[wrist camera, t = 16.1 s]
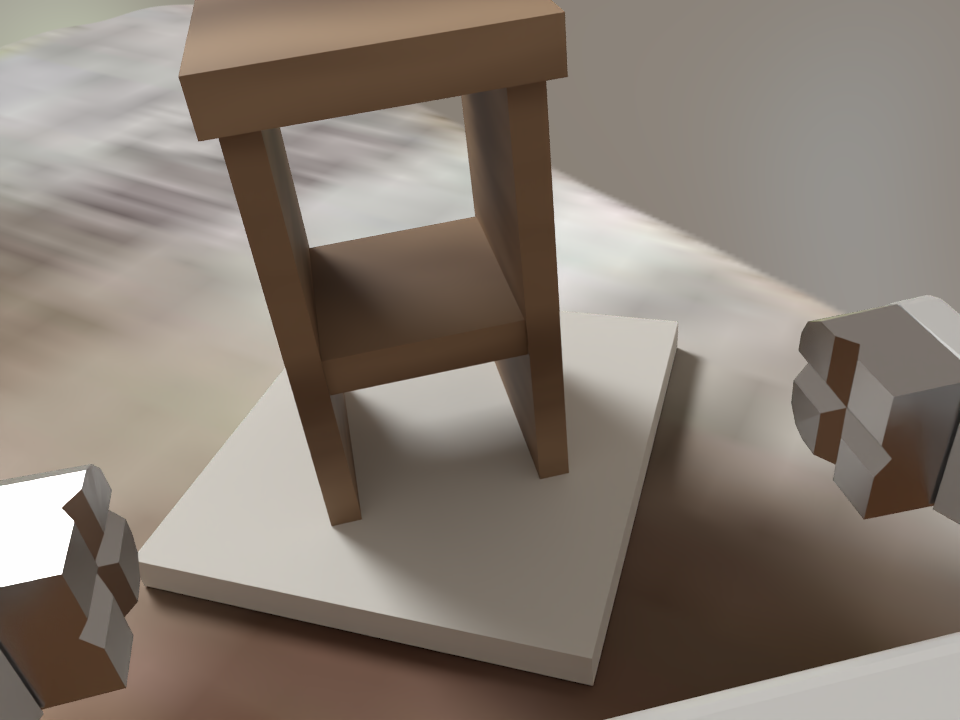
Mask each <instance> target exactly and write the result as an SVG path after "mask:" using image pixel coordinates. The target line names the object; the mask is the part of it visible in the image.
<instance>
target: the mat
mask: <svg viewBox="0 0 960 720" xmlns="http://www.w3.org/2000/svg"><path fill="white" fill-rule="evenodd" d="M560 328H561V345H562V362H563V379H564V396H565V413H566V430H567V447H568V464H569V473H566V474H562V475H558V476H553V477H549V478H544V479H540V478H539V475H538V473H537V470H536V468H535V465H534V462H533V460H532V457H531V455H530V452H529V450H528V447H527V444H526V442H525V439H524V437H523V434H522V431H521V429H520V426H519V424H518V421H517V418H516V416H515V413H514V411H513V408H512V406H511V403H510V400H509V398H508V395H507V393H506V390H505V387H504V385H503V382H502V380H501V377H500V375H499V372H498V369H497V367H496V364H495V362H489V363H484V364H479V365H474V366H470V367H465V368H460V369H455V370H451V371H446V372H441V373H436V374H431V375H427V376H422V377H417V378H412V379H407V380H403V381H398V382H393V383H388V384H384V385H379V386H374V387H369V388H364V389H360V390H355V391H350V392H345V393H344V395H345V402H346V409H347V416H348V423H349V430H350V437H351V445H352V452H353V459H354V466H355V473H356V480H357V487H358V495H359V502H360V509H361V516H362V520H358V521H353V522H349V523H344V524H340V525H335V526H331V523H330V519H329V516H328V513H327V509H326V506H325V502H324V499H323V495H322V492H321V488H320V485H319V482H318V478H317V475H316V471H315V468H314V464H313V461H312V458H311V454H310V451H309V447H308V444H307V440H306V437H305V434H304V430H303V427H302V423H301V420H300V416H299V413H298V409H297V406H296V403H295V399H294V396H293V392H292V389H291V385H290V382H289V379H288V375H287V372H286V368H284V369H283V371H282V372H281V373H280V374H279V376H278V377H277V378H276V379H275V381H274V382H273V383H272V384H271V386H270V387H269V388H268V389H267V391H266V392H265V393H264V394H263V396H262V397H261V398H260V400H259V401H258V402H257V403H256V405H255V406H254V407H253V408H252V410H251V411H250V412H249V413H248V415H247V416H246V417H245V418H244V420H243V421H242V422H241V423H240V425H239V426H238V427H237V428H236V430H235V431H234V432H233V433H232V435H231V436H230V437H229V438H228V440H227V441H226V442H225V444H224V445H223V446H222V447H221V449H220V450H219V451H218V452H217V454H216V455H215V456H214V457H213V459H212V460H211V461H210V462H209V464H208V465H207V466H206V467H205V469H204V470H203V471H202V472H201V474H200V475H199V476H198V477H197V479H196V480H195V481H194V483H193V484H192V485H191V486H190V488H189V489H188V490H187V491H186V493H185V494H184V495H183V496H182V498H181V499H180V500H179V501H178V503H177V504H176V505H175V506H174V508H173V509H172V510H171V511H170V513H169V514H168V515H167V516H166V518H165V519H164V520H163V521H162V523H161V524H160V525H159V527H158V528H157V529H156V530H155V532H154V533H153V534H152V535H151V537H150V538H149V539H148V540H147V542H146V543H145V544H144V545H143V547H142V548H141V549H140V550H139V552H138V560H139V572H140V578H141V580H142V582H143V584H144V586H149V587H153V588H158V589H162V590H166V591H171V592H175V593H180V594H184V595H189V596H193V597H198V598H202V599H207V600H211V601H216V602H220V603H225V604H229V605H234V606H238V607H242V608H247V609H251V610H256V611H260V612H265V613H269V614H274V615H278V616H283V617H287V618H292V619H296V620H301V621H305V622H310V623H314V624H319V625H323V626H327V627H332V628H336V629H341V630H345V631H350V632H354V633H359V634H363V635H368V636H372V637H377V638H381V639H386V640H390V641H395V642H399V643H403V644H408V645H412V646H417V647H421V648H426V649H430V650H435V651H439V652H444V653H448V654H453V655H457V656H462V657H466V658H471V659H475V660H479V661H484V662H488V663H493V664H497V665H502V666H506V667H511V668H515V669H520V670H524V671H529V672H533V673H538V674H542V675H547V676H551V677H555V678H560V679H564V680H569V681H573V682H578V683H582V684H587V685H591V686H593V684H594V680H595V676H596V672H597V668H598V664H599V660H600V656H601V652H602V648H603V644H604V640H605V636H606V632H607V628H608V624H609V620H610V616H611V612H612V608H613V604H614V600H615V596H616V591H617V587H618V583H619V579H620V575H621V571H622V567H623V563H624V559H625V555H626V551H627V547H628V543H629V539H630V535H631V531H632V527H633V523H634V519H635V515H636V511H637V507H638V503H639V499H640V495H641V491H642V487H643V483H644V479H645V475H646V471H647V467H648V463H649V458H650V454H651V450H652V446H653V442H654V438H655V434H656V430H657V426H658V422H659V418H660V414H661V410H662V406H663V402H664V398H665V394H666V390H667V386H668V382H669V378H670V374H671V370H672V366H673V362H674V358H675V354H676V350H677V340H678V322H676V321H665V320H654V319H643V318H633V317H622V316H611V315H600V314H589V313H578V312H568V311H560Z"/></svg>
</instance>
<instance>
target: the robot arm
mask: <svg viewBox="0 0 960 720" xmlns="http://www.w3.org/2000/svg"><path fill="white" fill-rule="evenodd" d="M799 352H800V353H801V354H802V356H803V357H804V358H805V359H806V361H807V362H808V364H807V365H806V366H805V367H804V369H803V370H802V371H801V372H800V373H799V375H798V376H797V377H796V378H795V380H794V383H793V392H792V401H791V403H792V409H793V414H794V419H795V424H796V426H797V429H798V431H799V433H800V435H801V437H802V439H803V441H804V442H805V444H806V445H807V446H808V448H809V449H810V450H811V452H812V453H813V454H814V455H816V456H818V457H820V458H823V459H825V460H827V461H829V462H831V463H833V464H835V470H834V477H833V481H834V482H835V483H836V484H837V486H838V487H839V488H840V490H841V491H842V492H843V493H844V495H845V496H846V497H847V498H848V500H849V501H850V502H851V504H852V505H853V506H854V507H855V509H856V510H857V511H858V513H859V514H860V515H861V516H862V518H863V519H869V518H874V517H879V516H884V515H889V514H894V513H899V512H904V511H909V510H914V509H919V508H924V507H929V506H934V507H933V510H935V511H937V512H939V513H940V514H942V515H944V516H946V517H948V518H949V519H951V520H953V521H955V522H956V523H958V524H960V314H959V313H958V312H956V311H955V310H954V309H953V308H952V307H950V306H949V305H948V304H947V303H946V302H944V301H943V300H942V299H940V298H937V297H934V296H930V295H926V296H921V297H916V298H912V299H907V300H903V301H899V302H894V303H890V304H888V305H886V306H881V307H876V308H872V309H867V310H862V311H857V312H852V313H847V314H842V315H837V316H832V317H828V318H823V319H818V320H813V321H808V323H807V324H806V326H805V328H804V329H803V331H802V333H801V339H800V345H799ZM111 492H112V490H111V488H110V486H109V484H108V482H107V480H106V478H105V476H104V474H103V472H102V470H101V469H100V468H99V467H97V466H94V465H92V464H90V465H84V466H78V467H73V468H67V469H62V470H56V471H50V472H45V473H39V474H34V475H28V476H22V477H17V478H11V479H6V480H0V720H39V719H40V718H41V717H42V715H43V711H42V709H46V708H49V707H53V706H57V705H61V704H65V703H69V702H73V701H77V700H81V699H85V698H89V697H92V696H96V695H100V694H104V693H108V692H112V691H116V690H120V689H124V688H126V685H127V677H128V670H129V663H130V656H131V649H132V641H133V634H132V632H131V630H130V628H129V626H128V624H127V622H126V620H125V618H124V617H125V616H126V615H127V614H128V613H129V611H130V610H131V609H132V608H133V607H134V605H135V604H136V603H137V602H138V595H139V586H140V572H139V560H138V552H137V549H136V545H135V542H134V538H133V535H132V532H131V530H130V528H129V526H128V524H127V521H126V519H124V518H123V517H121V516H119V515H117V514H115V513H113V512H111V511H110V510H108V509H109V503H110V498H111ZM605 720H960V632H957V633H953V634H949V635H945V636H941V637H937V638H933V639H929V640H925V641H921V642H917V643H913V644H909V645H905V646H901V647H897V648H893V649H888V650H884V651H880V652H876V653H872V654H868V655H864V656H860V657H856V658H852V659H848V660H844V661H840V662H836V663H832V664H828V665H824V666H820V667H816V668H812V669H808V670H804V671H800V672H796V673H792V674H788V675H784V676H780V677H776V678H772V679H767V680H763V681H759V682H755V683H751V684H747V685H743V686H739V687H735V688H731V689H727V690H723V691H719V692H715V693H711V694H707V695H703V696H699V697H695V698H691V699H687V700H683V701H679V702H674V703H670V704H666V705H662V706H658V707H654V708H650V709H646V710H642V711H638V712H634V713H630V714H626V715H622V716H618V717H614V718H610V719H605Z"/></svg>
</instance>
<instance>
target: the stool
mask: <svg viewBox="0 0 960 720" xmlns="http://www.w3.org/2000/svg"><path fill="white" fill-rule="evenodd" d="M564 77H568V74H567V53H566V30H565V12H564V11H563V10H562V9H561V8H560V7H559V6H557V5H556V4H555V3H554V2H553V1H552V0H195V2H194V7H193V12H192V16H191V21H190V26H189V30H188V35H187V39H186V44H185V49H184V53H183V58H182V62H181V67H180V72H179V80H180V83H181V86H182V90H183V93H184V96H185V99H186V103H187V106H188V109H189V112H190V116H191V119H192V122H193V126H194V129H195V132H196V135H197V139H198V141H204V140H210V139H215V138H219V142H220V145H221V148H222V152H223V155H224V159H225V162H226V166H227V169H228V172H229V176H230V179H231V183H232V186H233V190H234V193H235V196H236V200H237V203H238V207H239V210H240V214H241V217H242V221H243V224H244V227H245V231H246V234H247V238H248V241H249V245H250V248H251V251H252V255H253V258H254V262H255V265H256V269H257V272H258V276H259V279H260V282H261V286H262V289H263V293H264V296H265V300H266V303H267V306H268V310H269V313H270V317H271V320H272V324H273V327H274V330H275V334H276V337H277V341H278V344H279V348H280V351H281V355H282V358H283V361H284V365H285V368H286V372H287V375H288V379H289V382H290V385H291V389H292V392H293V396H294V399H295V403H296V406H297V409H298V413H299V416H300V420H301V423H302V427H303V430H304V434H305V437H306V440H307V444H308V447H309V451H310V454H311V458H312V461H313V464H314V468H315V471H316V475H317V478H318V482H319V485H320V488H321V492H322V495H323V499H324V502H325V506H326V509H327V513H328V516H329V519H330V523H331V526H335V525H340V524H344V523H349V522H353V521H358V520H362V516H361V509H360V502H359V495H358V487H357V480H356V473H355V466H354V459H353V452H352V445H351V437H350V430H349V423H348V416H347V409H346V402H345V395H344V393H345V392H350V391H355V390H360V389H364V388H369V387H374V386H379V385H384V384H388V383H393V382H398V381H403V380H407V379H412V378H417V377H422V376H427V375H431V374H436V373H441V372H446V371H451V370H455V369H460V368H465V367H470V366H474V365H479V364H484V363H489V362H495V364H496V367H497V369H498V372H499V375H500V377H501V380H502V382H503V385H504V387H505V390H506V393H507V395H508V398H509V400H510V403H511V406H512V408H513V411H514V413H515V416H516V418H517V421H518V424H519V426H520V429H521V431H522V434H523V437H524V439H525V442H526V444H527V447H528V450H529V452H530V455H531V457H532V460H533V462H534V465H535V468H536V470H537V473H538V475H539V478H540V479H544V478H549V477H553V476H558V475H562V474H566V473H569V464H568V447H567V430H566V413H565V396H564V379H563V362H562V345H561V328H560V310H559V293H558V276H557V259H556V242H555V225H554V208H553V191H552V174H551V158H550V139H549V122H548V105H547V89H546V81H547V80H552V79H558V78H564ZM455 96H461V98H462V106H463V115H464V124H465V132H466V141H467V149H468V158H469V166H470V175H471V184H472V192H473V201H474V209H475V217H471V218H466V219H460V220H455V221H450V222H445V223H439V224H434V225H429V226H424V227H418V228H413V229H408V230H403V231H397V232H392V233H387V234H382V235H376V236H371V237H366V238H361V239H355V240H350V241H345V242H340V243H334V244H329V245H324V246H319V247H313V248H309V244H308V240H307V236H306V232H305V228H304V224H303V220H302V216H301V211H300V207H299V203H298V199H297V195H296V191H295V187H294V183H293V179H292V175H291V171H290V167H289V163H288V159H287V155H286V151H285V146H284V142H283V138H282V134H281V130H280V127H284V126H290V125H295V124H301V123H307V122H313V121H318V120H324V119H330V118H335V117H341V116H347V115H353V114H358V113H364V112H370V111H375V110H381V109H387V108H392V107H398V106H404V105H410V104H415V103H421V102H427V101H432V100H438V99H443V98H450V97H455Z"/></svg>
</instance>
